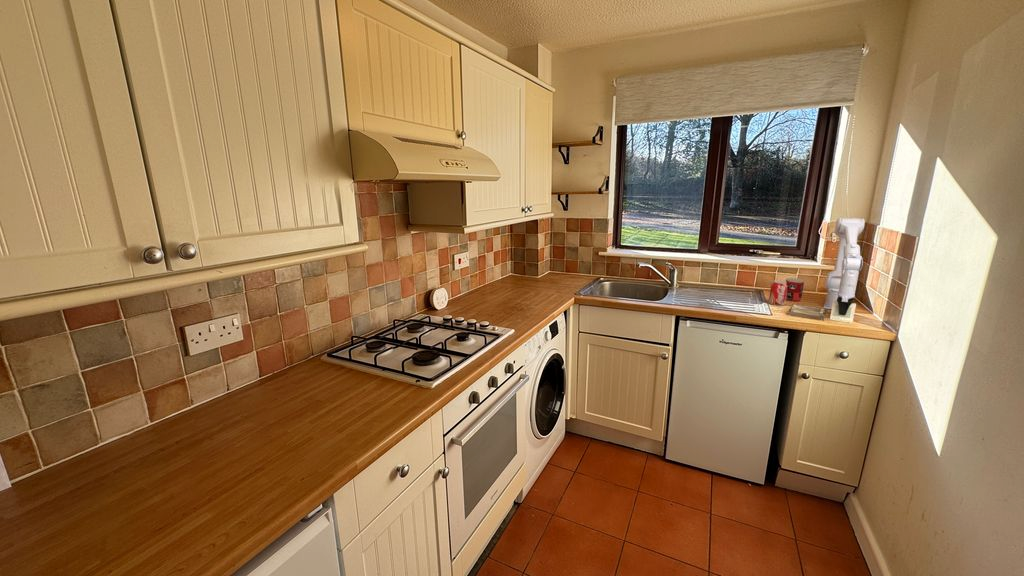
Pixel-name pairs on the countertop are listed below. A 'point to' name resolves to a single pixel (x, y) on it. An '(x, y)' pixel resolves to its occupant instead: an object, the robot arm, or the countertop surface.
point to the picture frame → (846, 318)
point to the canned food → (794, 289)
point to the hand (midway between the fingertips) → (842, 313)
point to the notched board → (807, 312)
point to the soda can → (778, 293)
